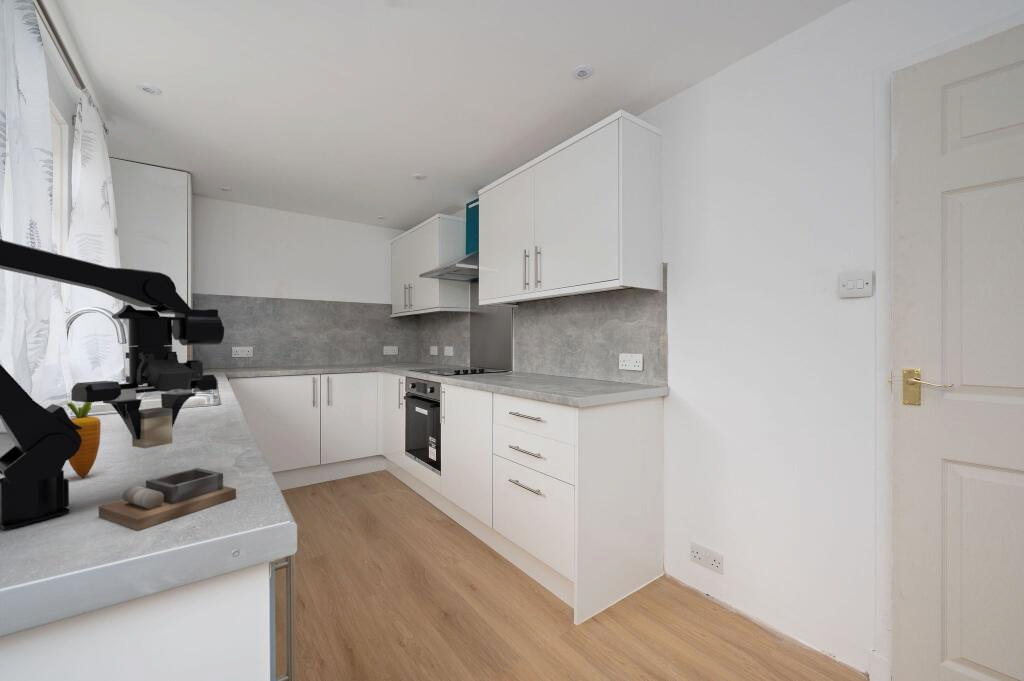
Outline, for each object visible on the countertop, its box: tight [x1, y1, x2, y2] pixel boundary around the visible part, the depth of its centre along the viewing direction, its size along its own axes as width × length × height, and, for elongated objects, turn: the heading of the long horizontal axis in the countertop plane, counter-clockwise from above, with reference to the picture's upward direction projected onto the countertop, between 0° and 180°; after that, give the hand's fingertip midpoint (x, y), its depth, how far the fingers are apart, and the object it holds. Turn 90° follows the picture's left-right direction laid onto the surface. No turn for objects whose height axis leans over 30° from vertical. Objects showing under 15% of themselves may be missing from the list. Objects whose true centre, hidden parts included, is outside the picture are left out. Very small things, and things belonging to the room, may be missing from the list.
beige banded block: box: [131, 406, 173, 449], centre depth 74 cm, size 4×4×6 cm
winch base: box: [98, 467, 237, 531], centre depth 66 cm, size 13×11×4 cm
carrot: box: [66, 401, 102, 478], centre depth 81 cm, size 5×5×15 cm
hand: (152, 436), depth 74 cm, fingers closed on beige banded block, 4 cm apart
